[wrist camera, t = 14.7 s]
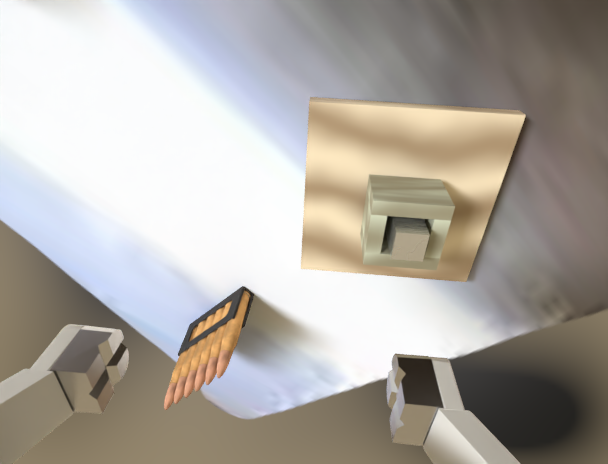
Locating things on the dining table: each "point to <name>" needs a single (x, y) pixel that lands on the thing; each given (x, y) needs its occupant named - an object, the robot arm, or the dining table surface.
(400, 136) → the shaft board
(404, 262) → the collar
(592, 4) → the dining table surface
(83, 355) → the robot arm
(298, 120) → the dining table surface
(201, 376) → the ammunition clip
